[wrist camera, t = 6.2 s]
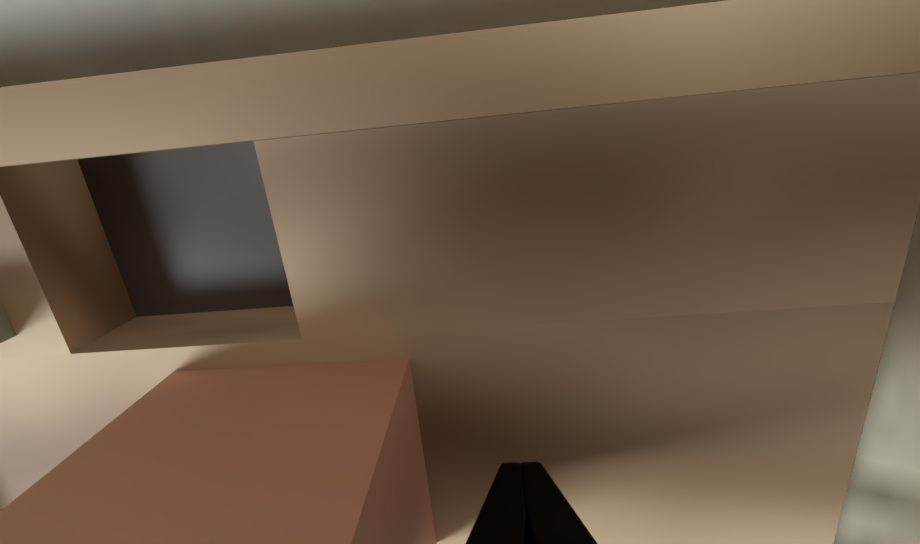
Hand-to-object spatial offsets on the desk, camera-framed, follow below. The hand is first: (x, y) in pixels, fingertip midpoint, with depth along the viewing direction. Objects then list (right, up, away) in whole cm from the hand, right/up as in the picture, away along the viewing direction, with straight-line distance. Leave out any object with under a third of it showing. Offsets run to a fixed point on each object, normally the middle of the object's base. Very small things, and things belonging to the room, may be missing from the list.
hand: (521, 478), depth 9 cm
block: (-5, 0, +1) cm, 5 cm away
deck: (-4, +1, +3) cm, 5 cm away
